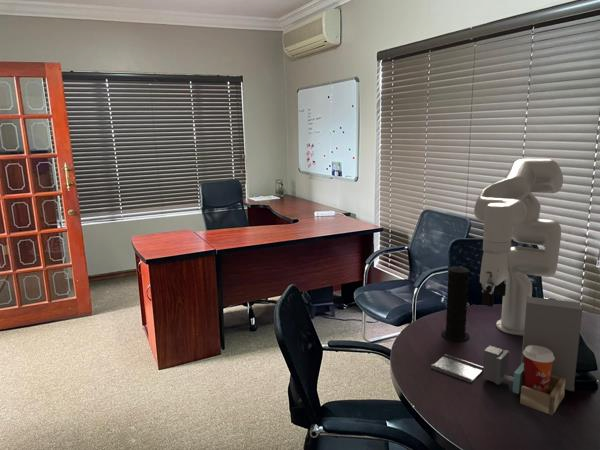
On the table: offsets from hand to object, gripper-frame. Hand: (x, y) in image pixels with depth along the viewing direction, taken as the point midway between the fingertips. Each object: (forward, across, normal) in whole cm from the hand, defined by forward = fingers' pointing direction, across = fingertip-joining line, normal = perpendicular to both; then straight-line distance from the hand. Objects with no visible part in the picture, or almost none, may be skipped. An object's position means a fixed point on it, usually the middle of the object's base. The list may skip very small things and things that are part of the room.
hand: (493, 300), depth 132 cm
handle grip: (+24, -16, -18) cm, 34 cm away
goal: (+23, +6, +17) cm, 29 cm away
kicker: (+22, +6, +6) cm, 24 cm away
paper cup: (+24, +6, +15) cm, 28 cm away
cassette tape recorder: (+24, -5, +15) cm, 29 cm away
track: (+24, +6, -8) cm, 25 cm away
